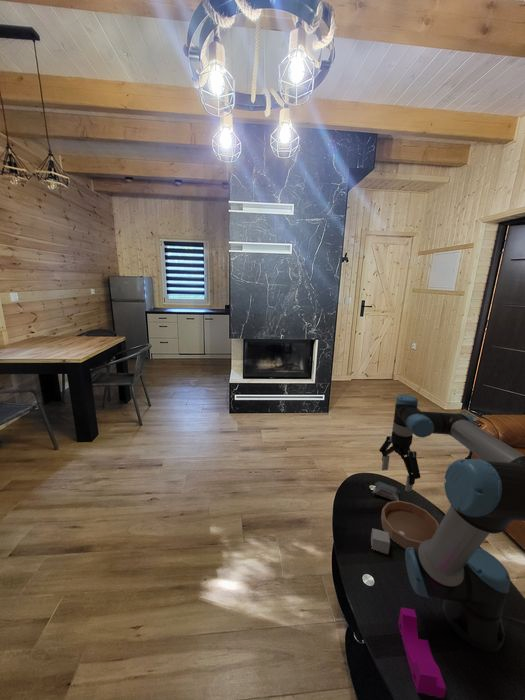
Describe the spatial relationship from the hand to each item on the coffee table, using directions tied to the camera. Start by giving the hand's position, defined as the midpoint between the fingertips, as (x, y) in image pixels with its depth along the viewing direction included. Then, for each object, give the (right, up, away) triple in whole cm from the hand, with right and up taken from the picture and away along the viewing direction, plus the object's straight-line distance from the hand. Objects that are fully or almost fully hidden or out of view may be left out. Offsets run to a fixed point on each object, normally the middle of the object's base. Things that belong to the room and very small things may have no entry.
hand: (395, 479), depth 117 cm
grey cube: (-10, -24, -7) cm, 27 cm away
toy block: (-13, -32, -40) cm, 53 cm away
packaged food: (+1, -19, +21) cm, 29 cm away
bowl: (+6, -22, +2) cm, 23 cm away
